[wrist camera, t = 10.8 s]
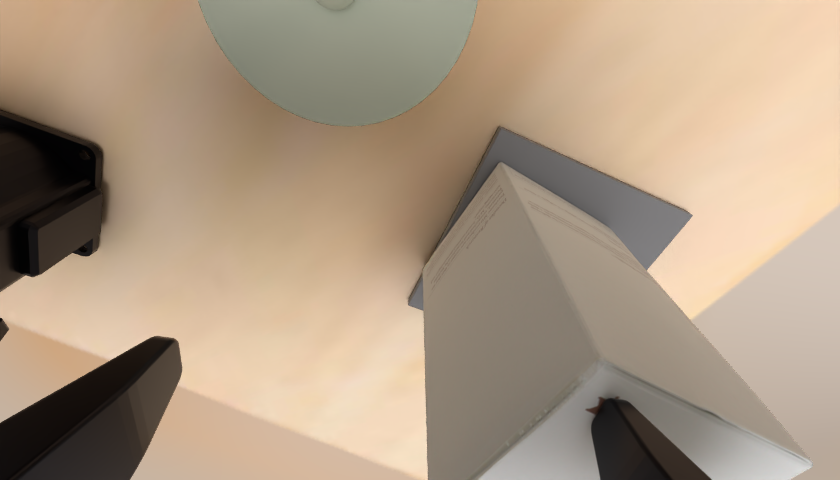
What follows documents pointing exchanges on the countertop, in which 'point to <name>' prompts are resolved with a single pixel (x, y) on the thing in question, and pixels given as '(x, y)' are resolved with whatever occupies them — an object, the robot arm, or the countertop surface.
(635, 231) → the rubber mat
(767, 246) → the countertop surface
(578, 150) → the countertop surface
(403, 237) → the countertop surface
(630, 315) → the supplement box
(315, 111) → the lidded bowl
